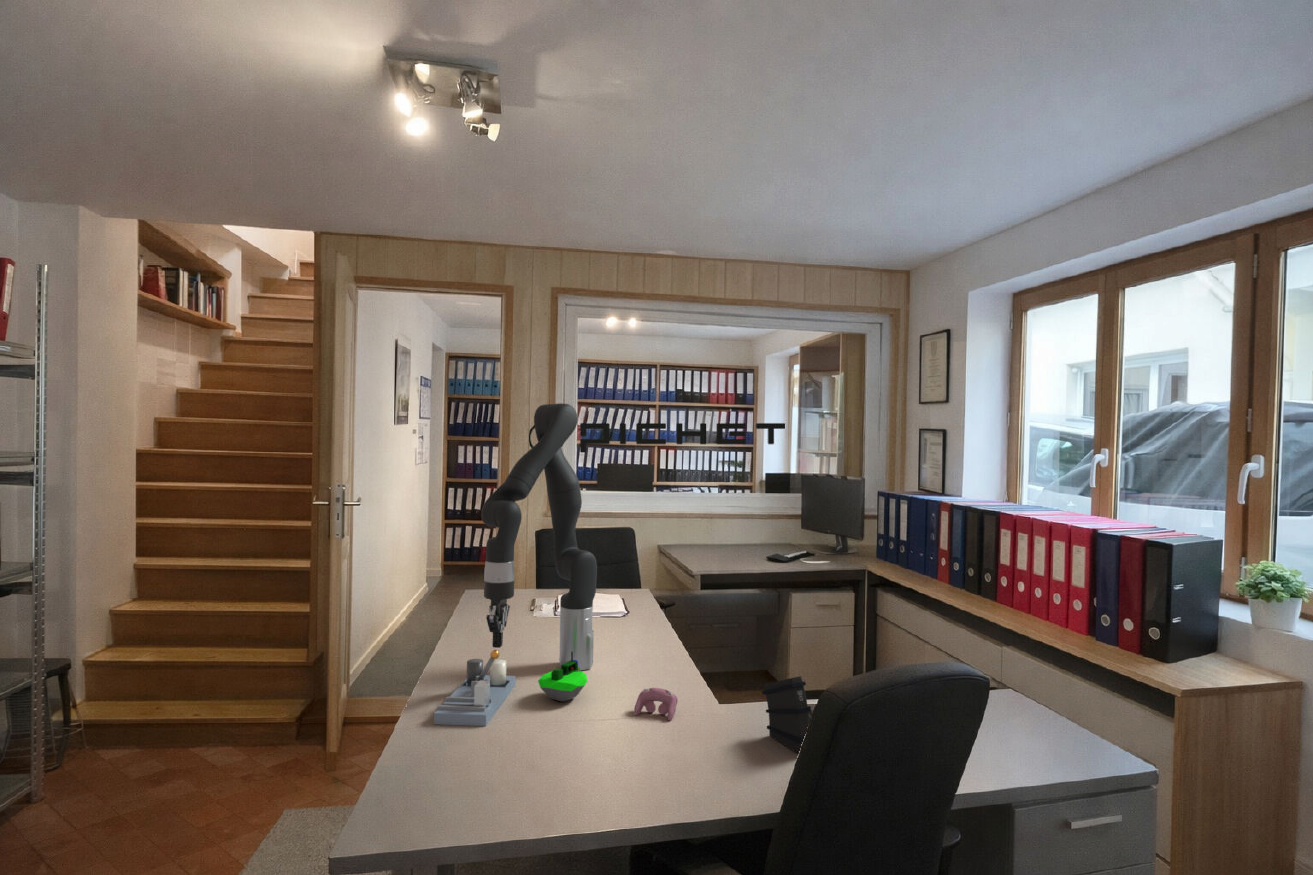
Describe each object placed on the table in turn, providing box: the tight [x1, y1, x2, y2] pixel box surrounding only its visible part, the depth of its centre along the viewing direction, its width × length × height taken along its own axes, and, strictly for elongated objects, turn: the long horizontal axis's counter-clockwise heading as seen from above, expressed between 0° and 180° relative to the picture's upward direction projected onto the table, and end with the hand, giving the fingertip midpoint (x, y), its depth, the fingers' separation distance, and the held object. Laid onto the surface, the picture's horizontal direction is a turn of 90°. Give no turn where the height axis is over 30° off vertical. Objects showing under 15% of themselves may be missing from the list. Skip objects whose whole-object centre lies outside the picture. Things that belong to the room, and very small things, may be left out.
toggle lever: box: [476, 649, 500, 681], centre depth 173 cm, size 2×2×10 cm
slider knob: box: [474, 680, 490, 707], centre depth 165 cm, size 2×4×5 cm, turn 177°
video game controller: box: [633, 687, 679, 722], centre depth 168 cm, size 10×5×7 cm, turn 71°
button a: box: [489, 659, 507, 685], centre depth 180 cm, size 4×4×5 cm
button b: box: [466, 658, 484, 684], centre depth 180 cm, size 4×4×5 cm
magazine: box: [761, 676, 812, 754], centre depth 153 cm, size 4×13×15 cm, turn 28°
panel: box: [433, 674, 517, 727], centre depth 173 cm, size 12×26×6 cm, turn 177°
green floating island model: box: [537, 652, 588, 703], centre depth 177 cm, size 12×12×11 cm
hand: (497, 646), depth 180 cm, fingers closed
